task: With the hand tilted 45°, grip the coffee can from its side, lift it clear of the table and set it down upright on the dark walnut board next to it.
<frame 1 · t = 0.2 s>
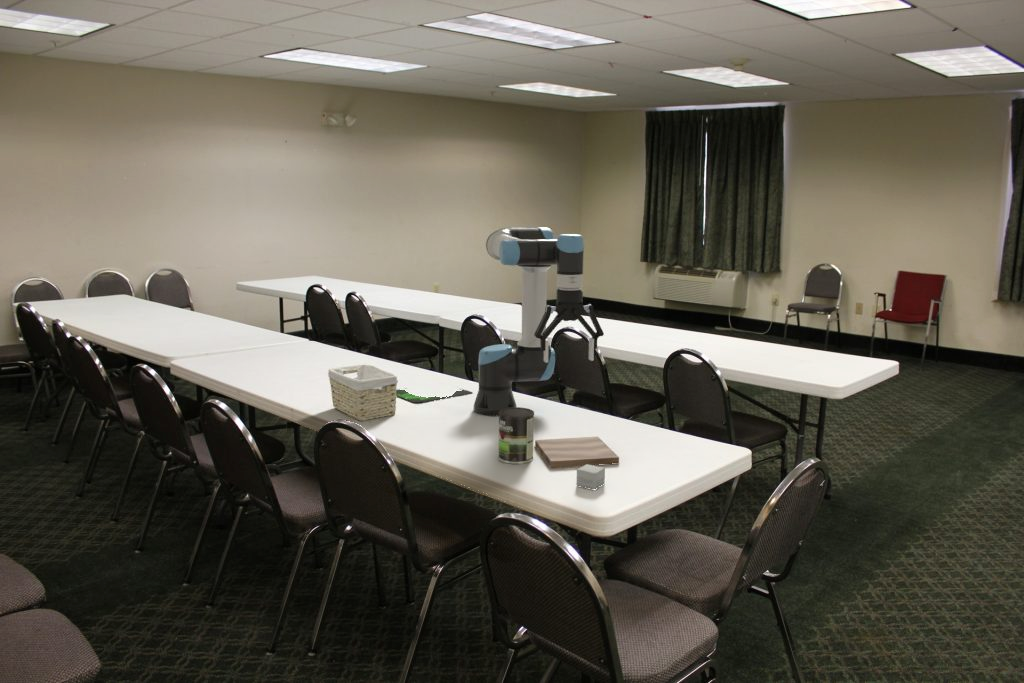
hand: (568, 360, 231), 28 cm above the table, tool pointing down, fingers open, 13 cm apart
walnut board: (575, 454, 233), on the table
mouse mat: (430, 394, 306), on the table
small box: (590, 486, 209), on the table
coffee can: (516, 459, 230), on the table
storage basket: (363, 412, 278), on the table
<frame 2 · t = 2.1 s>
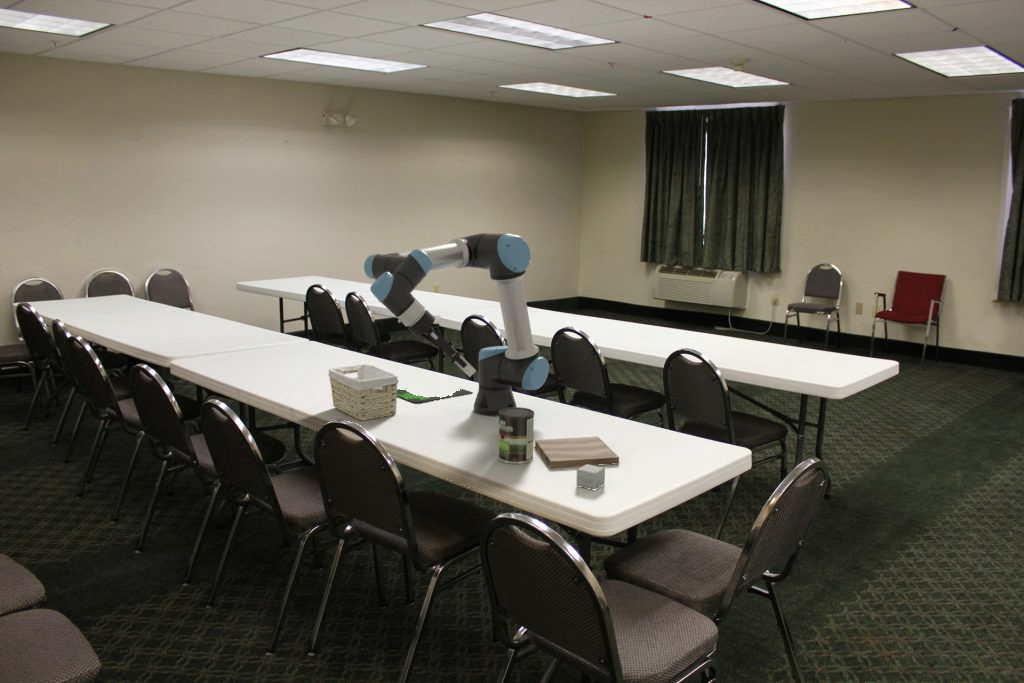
hand: (468, 369, 229), 26 cm above the table, tool tilted 45°, fingers open, 13 cm apart
nothing on the table moved.
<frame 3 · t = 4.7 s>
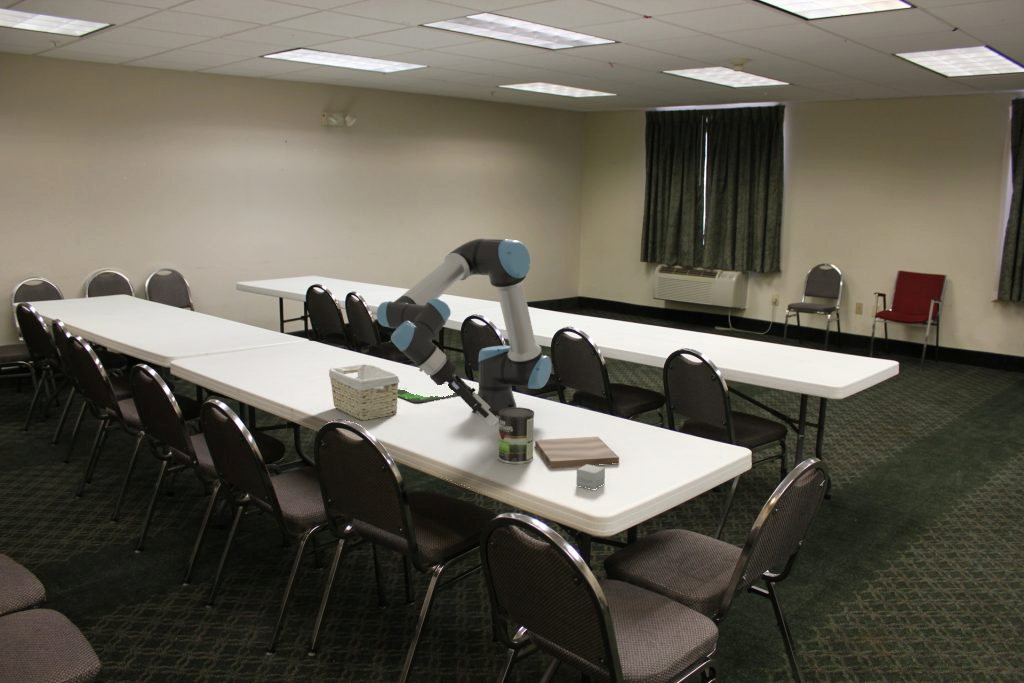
hand: (491, 416, 225), 13 cm above the table, tool tilted 45°, fingers open, 13 cm apart
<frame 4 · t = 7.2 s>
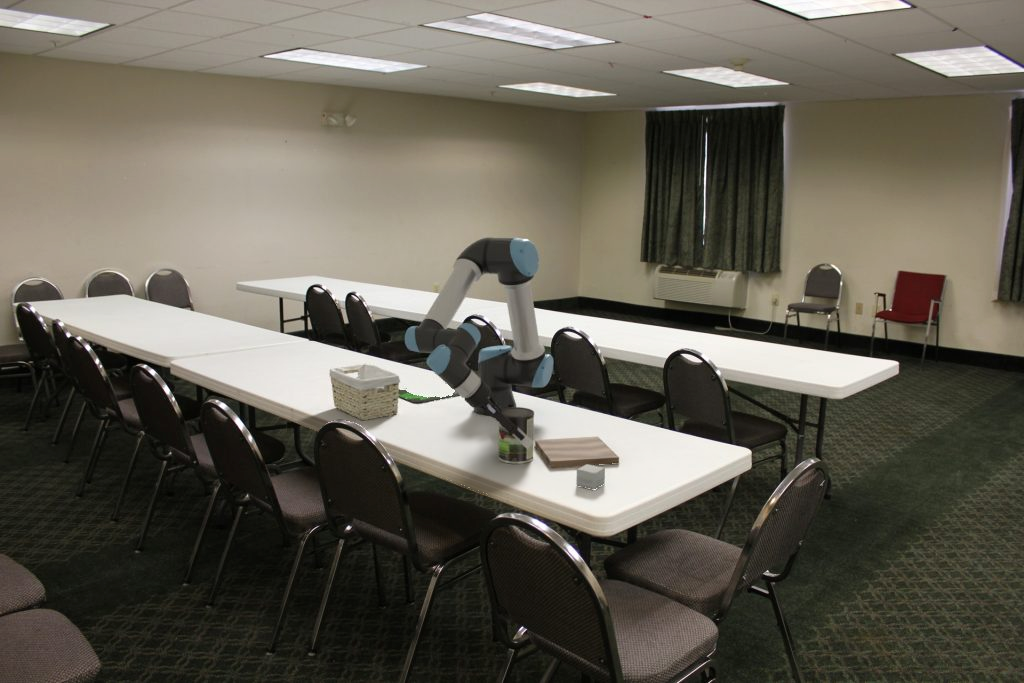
hand: (526, 439, 229), 6 cm above the table, tool tilted 45°, fingers closed on coffee can, 10 cm apart
coffee can: (516, 459, 230), on the table, touching gripper
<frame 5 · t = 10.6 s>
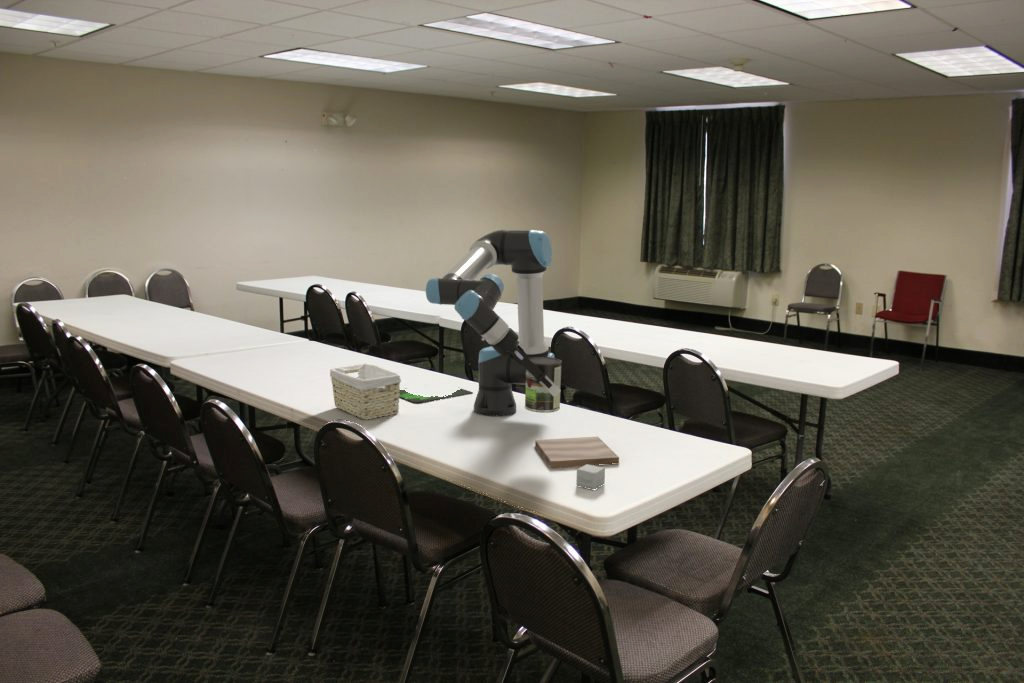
hand: (553, 389, 227), 21 cm above the table, tool tilted 45°, fingers closed on coffee can, 10 cm apart
coffee can: (542, 408, 227), point 15 cm above the table, touching gripper
when the fingers open (9 cm above the table, at t = 14.2 s): coffee can drops 1 cm, resting on walnut board.
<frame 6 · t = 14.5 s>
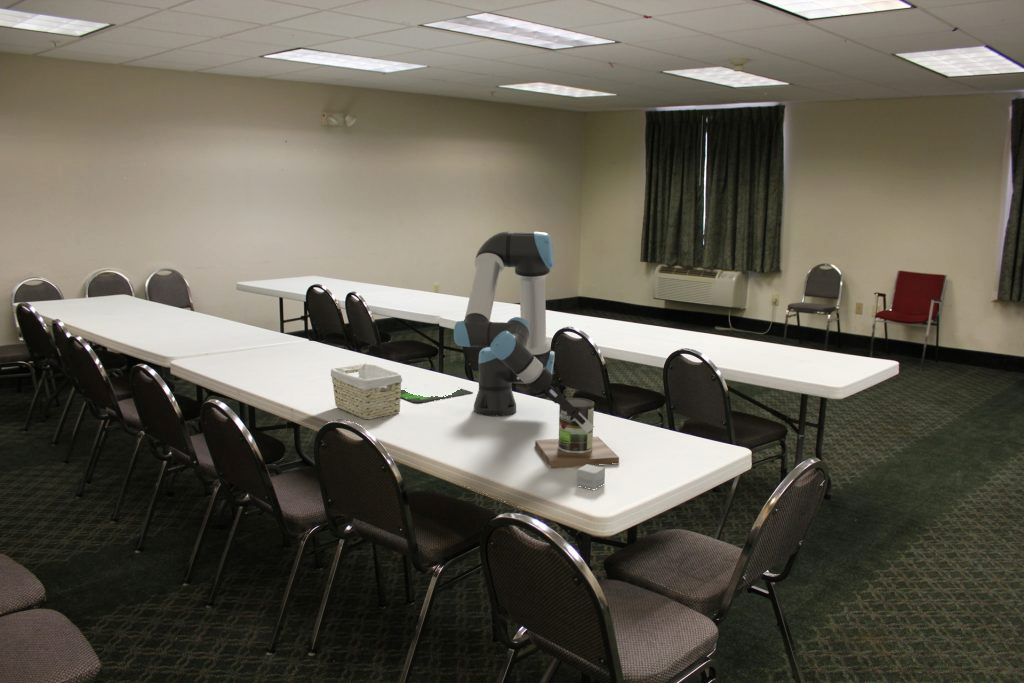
hand: (584, 423, 232), 10 cm above the table, tool tilted 45°, fingers open, 13 cm apart
coffee can: (575, 448, 233), point 2 cm above the table, touching walnut board
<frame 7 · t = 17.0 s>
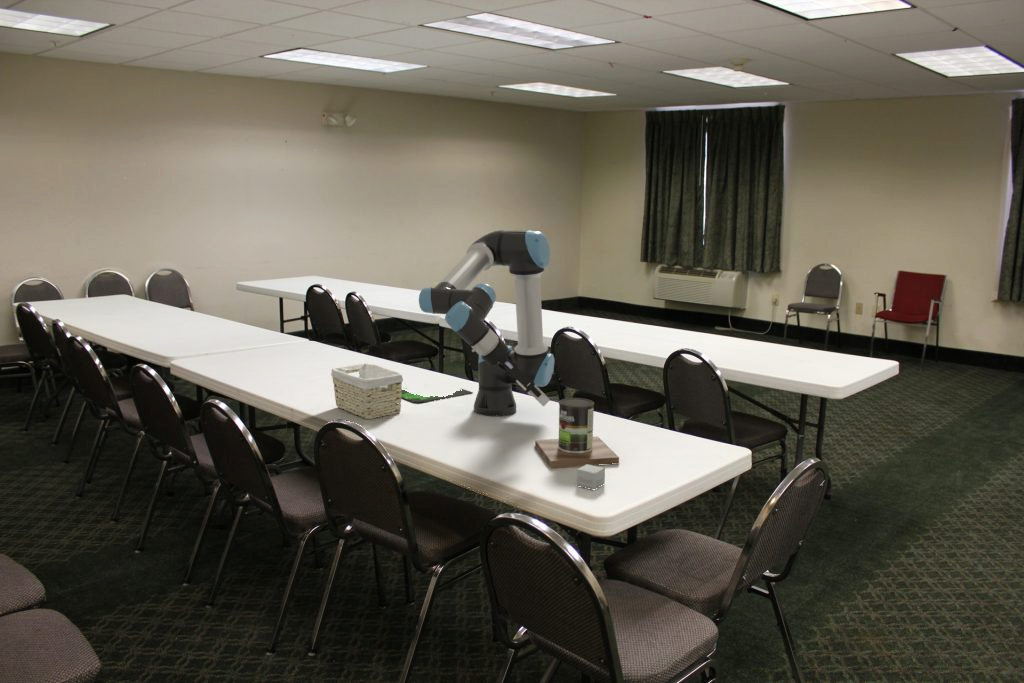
hand: (540, 397, 228), 18 cm above the table, tool tilted 45°, fingers open, 13 cm apart
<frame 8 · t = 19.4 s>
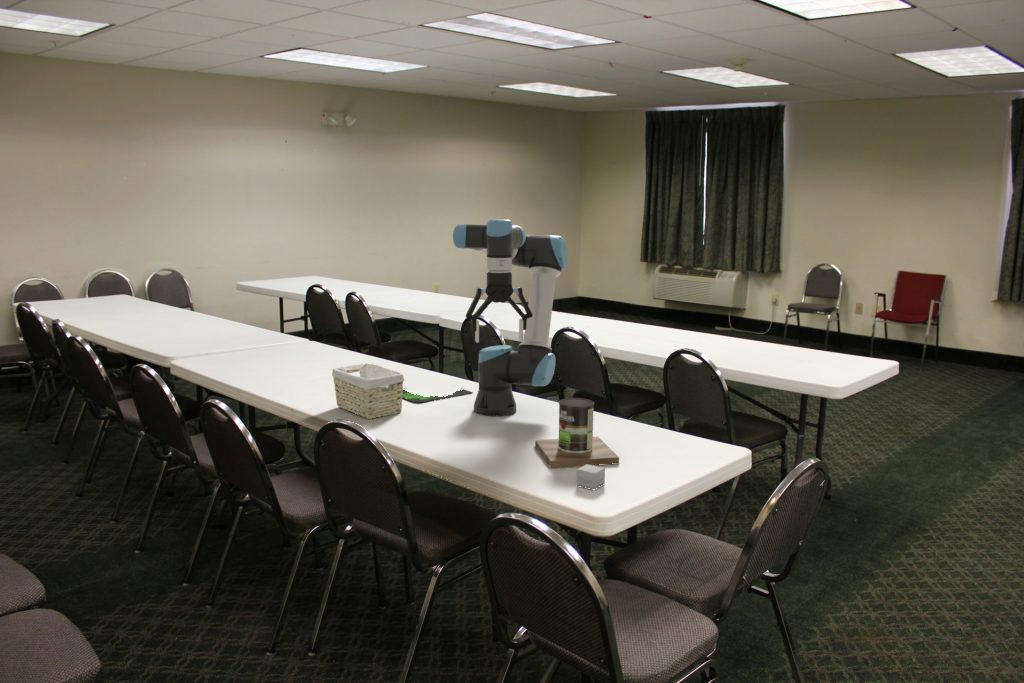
hand: (499, 341, 240), 32 cm above the table, tool pointing down, fingers open, 13 cm apart
at the end: coffee can inside the target area on the walnut board (0.0 cm from its centre), point 1.8 cm above the walnut board's base; coffee can tilted 0°; the gripper is holding nothing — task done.
